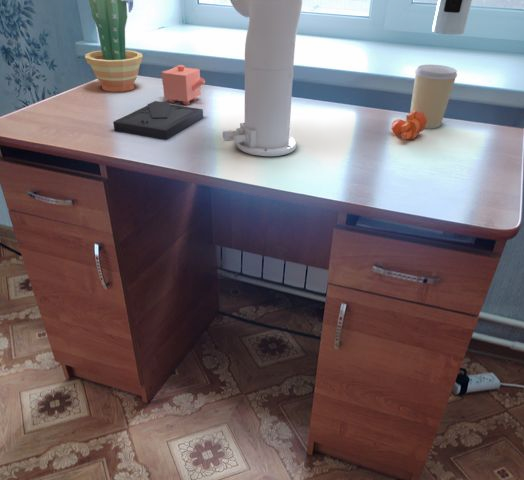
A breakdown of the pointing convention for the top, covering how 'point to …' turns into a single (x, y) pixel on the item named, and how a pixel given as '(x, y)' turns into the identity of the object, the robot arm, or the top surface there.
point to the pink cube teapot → (182, 84)
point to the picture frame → (158, 120)
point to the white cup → (450, 19)
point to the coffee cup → (432, 92)
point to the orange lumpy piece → (410, 125)
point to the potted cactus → (113, 46)
